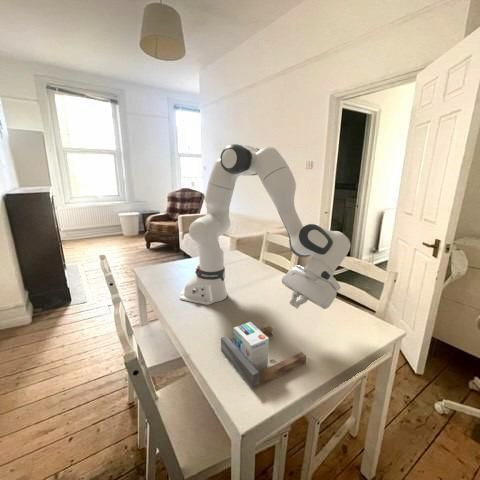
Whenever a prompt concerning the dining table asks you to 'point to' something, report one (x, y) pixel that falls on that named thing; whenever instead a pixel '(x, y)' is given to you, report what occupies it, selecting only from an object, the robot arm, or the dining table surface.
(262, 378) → the guide dock
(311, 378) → the dining table surface
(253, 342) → the light bulb box
